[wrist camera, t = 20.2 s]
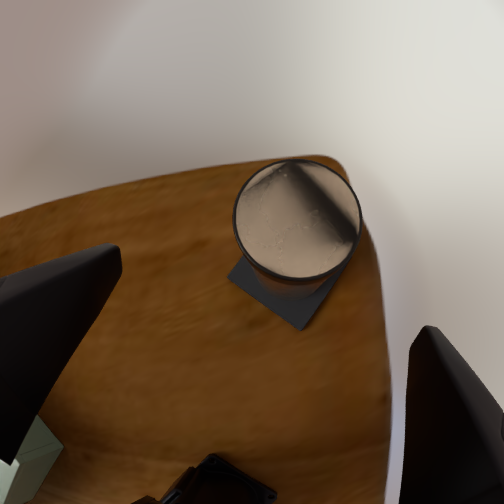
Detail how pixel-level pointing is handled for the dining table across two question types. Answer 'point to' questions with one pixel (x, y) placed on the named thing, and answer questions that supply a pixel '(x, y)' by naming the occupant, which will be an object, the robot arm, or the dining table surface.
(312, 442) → the dining table surface
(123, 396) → the dining table surface
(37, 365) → the robot arm
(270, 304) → the mat
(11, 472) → the cabinet
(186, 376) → the dining table surface
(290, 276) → the canister
